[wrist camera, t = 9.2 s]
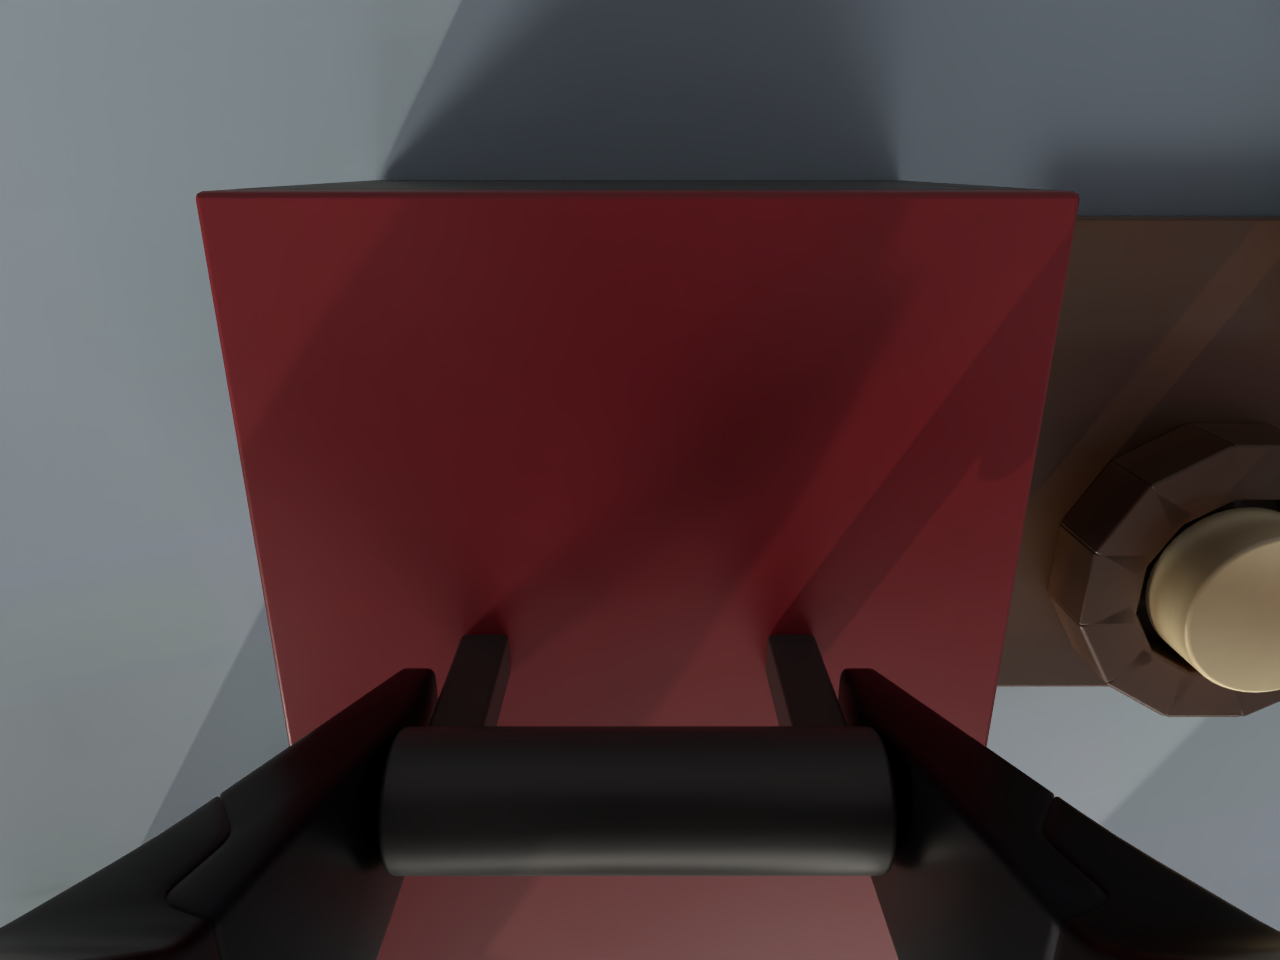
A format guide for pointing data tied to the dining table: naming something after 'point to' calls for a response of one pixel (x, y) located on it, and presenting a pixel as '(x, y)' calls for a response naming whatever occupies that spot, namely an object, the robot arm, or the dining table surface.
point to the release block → (1145, 446)
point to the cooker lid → (637, 530)
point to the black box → (638, 185)
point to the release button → (1223, 598)
